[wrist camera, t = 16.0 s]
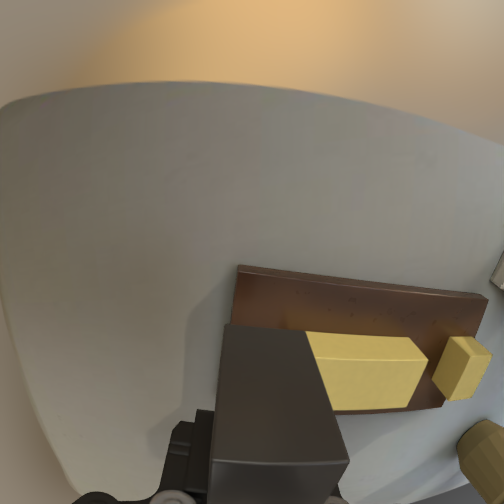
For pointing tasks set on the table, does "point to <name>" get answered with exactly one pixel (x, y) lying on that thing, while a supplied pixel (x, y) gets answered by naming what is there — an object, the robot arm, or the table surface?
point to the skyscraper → (499, 274)
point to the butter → (367, 369)
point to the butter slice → (461, 368)
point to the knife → (272, 422)
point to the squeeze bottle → (484, 460)
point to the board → (360, 315)
